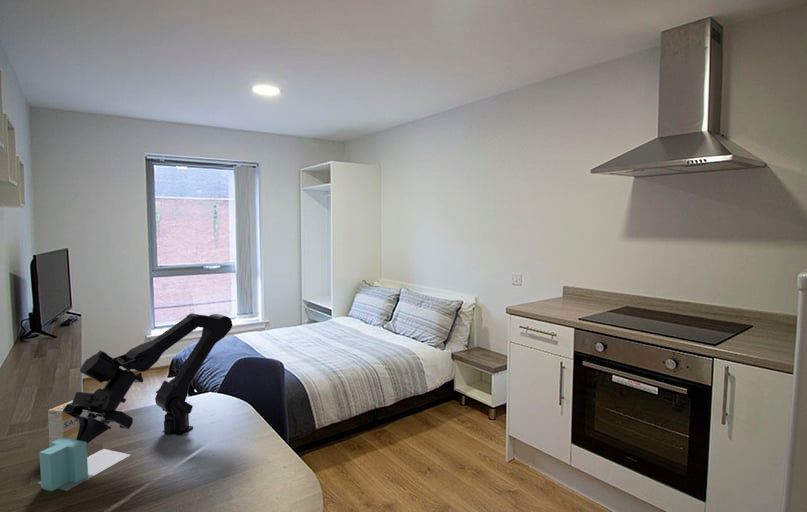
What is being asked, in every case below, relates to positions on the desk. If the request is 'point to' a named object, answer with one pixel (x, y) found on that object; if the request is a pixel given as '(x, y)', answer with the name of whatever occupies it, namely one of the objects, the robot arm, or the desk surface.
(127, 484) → the desk surface
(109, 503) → the desk surface
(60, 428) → the supplement box
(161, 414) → the desk surface
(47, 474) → the t block
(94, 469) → the board
